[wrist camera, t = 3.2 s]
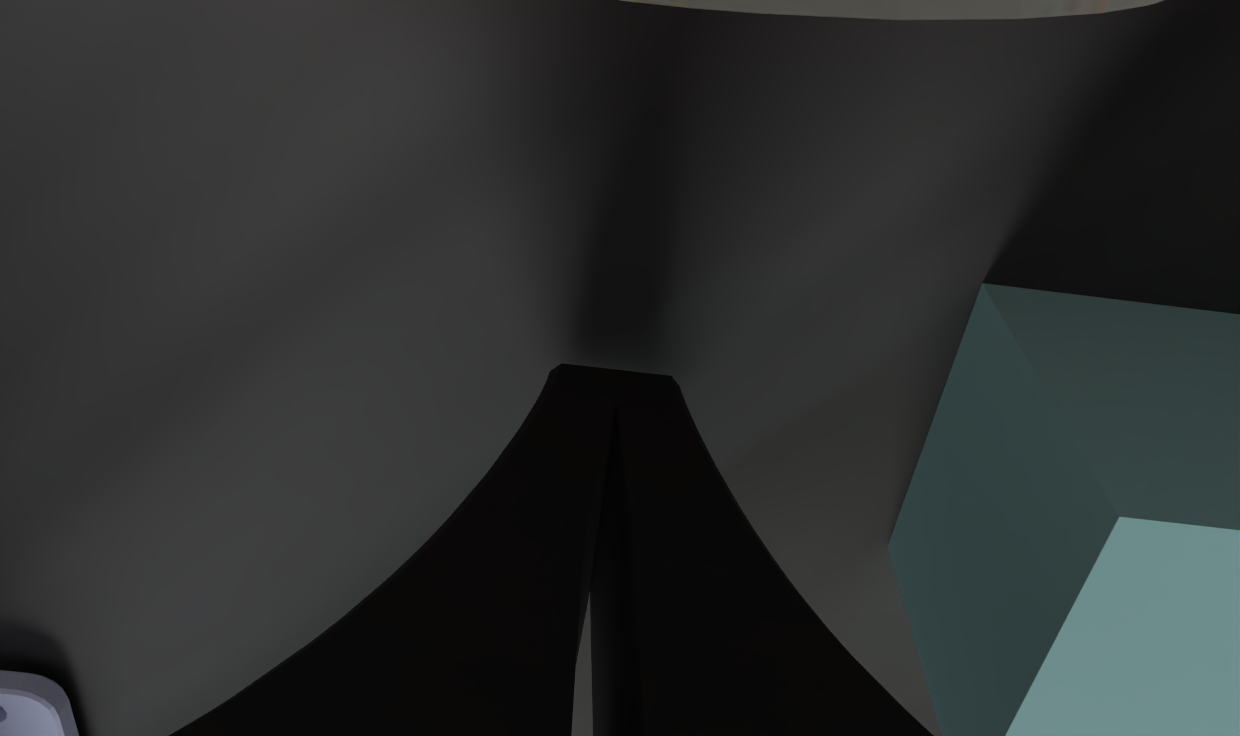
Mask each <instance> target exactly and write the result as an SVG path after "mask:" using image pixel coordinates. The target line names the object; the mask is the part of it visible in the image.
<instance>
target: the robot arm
mask: <svg viewBox="0 0 1240 736" xmlns="http://www.w3.org/2000/svg"><path fill="white" fill-rule="evenodd" d="M589 593H590V613H591V660H592V703H593V736H933V735H932V734H931V733H930V732H929V731H928V730H927V729H926V728H924V727H923V726H922V725H921V724H920V723H919V722H918V721H917V720H916V719H915V718H914V717H913V716H912V715H911V714H910V713H909V712H907V711H906V710H905V709H904V708H903V707H902V706H901V705H900V704H899V703H898V702H897V701H896V700H895V699H894V698H893V697H892V696H891V695H890V694H889V693H888V692H887V691H886V690H885V688H884V687H883V686H882V685H881V684H880V683H879V682H878V681H877V680H876V679H875V678H874V677H873V676H872V675H871V674H870V673H869V672H868V671H867V670H866V669H865V668H864V667H863V666H862V665H861V664H860V663H859V662H858V661H857V660H856V659H855V658H854V657H853V656H852V655H851V654H850V653H849V652H848V651H847V650H846V648H845V647H844V646H843V645H842V644H841V643H840V642H839V640H838V639H837V638H836V637H835V636H834V635H833V634H832V633H831V631H830V630H829V629H828V628H827V627H826V626H825V624H824V623H823V622H822V621H821V620H820V618H819V617H818V616H817V615H816V613H815V612H814V611H813V610H812V608H811V607H810V606H809V605H808V604H807V602H806V601H805V600H804V599H803V597H802V596H801V595H800V594H799V592H798V591H797V590H796V588H795V587H794V586H793V584H792V583H791V582H790V580H789V579H788V578H787V576H786V575H785V574H784V572H783V571H782V570H781V568H780V567H779V565H778V564H777V563H776V561H775V560H774V558H773V557H772V555H771V554H770V553H769V551H768V550H767V548H766V547H765V545H764V544H763V542H762V541H761V539H760V538H759V536H758V535H757V533H756V532H755V530H754V529H753V527H752V526H751V524H750V523H749V521H748V519H747V518H746V516H745V515H744V513H743V511H742V510H741V508H740V507H739V505H738V503H737V502H736V500H735V498H734V496H733V495H732V493H731V491H730V489H729V488H728V486H727V484H726V483H725V481H724V479H723V477H722V476H721V474H720V472H719V470H718V469H717V467H716V465H715V463H714V461H713V459H712V457H711V456H710V454H709V452H708V450H707V448H706V446H705V444H704V442H703V440H702V438H701V436H700V434H699V432H698V430H697V428H696V425H695V423H694V421H693V419H692V417H691V414H690V412H689V410H688V408H687V405H686V403H685V400H684V398H683V395H682V392H681V390H680V387H679V385H678V384H677V383H676V381H675V380H674V379H673V378H672V376H667V375H658V374H649V373H640V372H631V371H622V370H614V369H605V368H596V367H587V366H578V365H569V364H560V365H559V366H557V367H556V368H554V369H553V370H551V371H550V373H549V376H548V379H547V381H546V384H545V386H544V388H543V390H542V392H541V394H540V396H539V397H538V399H537V401H536V403H535V404H534V406H533V408H532V410H531V411H530V413H529V414H528V416H527V417H526V419H525V421H524V422H523V424H522V425H521V427H520V428H519V430H518V431H517V433H516V434H515V436H514V437H513V438H512V440H511V441H510V442H509V444H508V445H507V447H506V448H505V449H504V451H503V452H502V454H501V455H500V456H499V458H498V459H497V460H496V462H495V463H494V465H493V466H492V467H491V469H490V470H489V471H488V472H487V474H486V475H485V476H484V477H483V479H482V480H481V481H480V482H479V483H478V484H477V486H476V487H475V488H474V489H473V490H472V491H471V493H470V494H469V495H468V496H467V497H466V498H465V500H464V501H463V502H462V503H461V504H460V505H459V507H458V508H457V509H456V510H455V511H454V513H453V514H452V515H451V516H450V517H449V518H448V519H447V520H446V522H445V523H444V524H443V525H442V526H441V527H440V528H439V529H438V530H437V531H436V532H435V533H434V534H433V535H432V536H431V537H430V538H429V539H428V540H427V541H426V543H425V544H424V545H423V546H422V547H421V548H420V549H419V550H418V551H417V552H415V553H414V554H413V555H412V556H411V557H410V558H409V559H408V560H407V561H406V562H405V563H404V564H403V565H402V566H401V567H400V568H399V569H398V570H397V571H396V572H394V573H393V574H392V575H391V576H390V577H389V578H388V579H387V580H386V581H385V582H383V583H382V584H381V585H380V586H379V587H378V588H376V589H375V590H374V591H373V592H372V593H370V594H369V595H368V596H367V597H366V598H365V599H363V600H362V601H361V602H360V603H359V604H358V605H356V606H355V607H354V608H353V609H352V610H351V611H349V612H348V613H347V614H346V615H345V616H344V617H342V618H341V619H340V620H338V621H337V622H336V623H335V624H333V625H332V626H331V627H330V628H328V629H327V630H326V631H325V632H323V633H322V634H321V635H319V636H318V637H317V638H315V639H314V640H313V641H312V642H310V643H309V644H307V645H306V646H305V647H303V648H302V649H300V650H299V651H297V652H296V653H295V654H293V655H292V656H290V657H289V658H287V659H286V660H285V661H283V662H282V663H280V664H279V665H277V666H276V667H275V668H273V669H272V670H270V671H269V672H267V673H266V674H265V675H263V676H262V677H260V678H259V679H257V680H256V681H255V682H253V683H252V684H250V685H249V686H247V687H246V688H245V689H243V690H242V691H240V692H239V693H237V694H236V695H235V696H233V697H232V698H230V699H228V700H227V701H225V702H224V703H222V704H221V705H219V706H218V707H216V708H214V709H213V710H211V711H210V712H208V713H207V714H205V715H203V716H201V717H200V718H198V719H196V720H195V721H193V722H191V723H189V724H188V725H186V726H184V727H183V728H181V729H179V730H178V731H176V732H174V733H172V734H171V735H169V736H571V730H572V714H573V698H574V682H575V666H576V661H577V656H578V651H579V645H580V640H581V635H582V630H583V624H584V619H585V614H586V609H587V603H588V598H589ZM0 736H79V734H78V730H77V727H76V723H75V720H74V716H73V713H72V709H71V706H70V702H69V699H68V697H67V695H66V693H65V692H64V690H63V688H62V687H61V686H59V685H58V684H57V683H56V682H55V681H53V680H51V679H49V678H47V677H45V676H42V675H38V674H33V673H26V672H16V671H6V670H0Z"/></svg>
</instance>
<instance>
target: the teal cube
mask: <svg viewBox="0 0 1240 736" xmlns="http://www.w3.org/2000/svg"><path fill="white" fill-rule="evenodd" d="M888 549H889V552H890V556H891V559H892V563H893V567H894V570H895V574H896V577H897V581H898V584H899V588H900V591H901V595H902V598H903V602H904V605H905V609H906V612H907V616H908V620H909V623H910V627H911V630H912V634H913V637H914V641H915V644H916V648H917V651H918V655H919V658H920V662H921V665H922V669H923V673H924V676H925V680H926V683H927V687H928V690H929V694H930V697H931V701H932V704H933V708H934V711H935V715H936V718H937V722H938V726H939V729H940V733H941V736H1240V314H1232V313H1224V312H1215V311H1207V310H1199V309H1191V308H1182V307H1174V306H1166V305H1158V304H1150V303H1141V302H1133V301H1125V300H1117V299H1108V298H1100V297H1092V296H1084V295H1075V294H1067V293H1059V292H1051V291H1042V290H1034V289H1026V288H1018V287H1009V286H1001V285H993V284H985V283H982V285H981V288H980V290H979V293H978V296H977V299H976V301H975V304H974V307H973V310H972V313H971V315H970V318H969V321H968V324H967V327H966V329H965V332H964V335H963V338H962V340H961V343H960V346H959V349H958V352H957V354H956V357H955V360H954V363H953V366H952V368H951V371H950V374H949V377H948V379H947V382H946V385H945V388H944V391H943V393H942V396H941V399H940V402H939V405H938V407H937V410H936V413H935V416H934V418H933V421H932V424H931V427H930V430H929V432H928V435H927V438H926V441H925V443H924V446H923V449H922V452H921V455H920V457H919V460H918V463H917V466H916V469H915V471H914V474H913V477H912V480H911V482H910V485H909V488H908V491H907V494H906V496H905V499H904V502H903V505H902V508H901V510H900V513H899V516H898V519H897V521H896V524H895V527H894V530H893V533H892V535H891V538H890V541H889V544H888Z"/></svg>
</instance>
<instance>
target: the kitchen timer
mask: <svg viewBox="0 0 1240 736" xmlns="http://www.w3.org/2000/svg"><path fill="white" fill-rule="evenodd" d="M620 1H630V2H639V3H648V4H657V5H666V6H675V7H685V8H696V9H709V10H721V11H734V12H747V13H760V14H781V15H802V16H824V17H845V18H867V19H888V20H965V19H1026V18H1040V17H1054V16H1068V15H1083V14H1097V13H1105V12H1111V11H1117V10H1124V9H1130V8H1136V7H1142V6H1148V5H1151V4H1155V3H1158V2H1161V1H1164V0H620Z"/></svg>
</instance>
